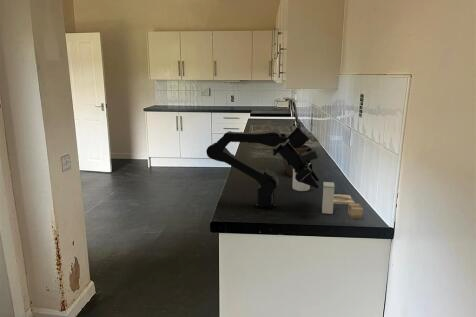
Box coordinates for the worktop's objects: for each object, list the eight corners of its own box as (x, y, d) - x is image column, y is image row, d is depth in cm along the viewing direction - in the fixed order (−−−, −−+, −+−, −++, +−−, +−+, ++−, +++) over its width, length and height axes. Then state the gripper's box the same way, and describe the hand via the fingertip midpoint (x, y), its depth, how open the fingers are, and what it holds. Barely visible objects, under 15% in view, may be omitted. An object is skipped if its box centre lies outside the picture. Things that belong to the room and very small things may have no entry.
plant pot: (285, 170, 204) (286, 142, 200) (311, 173, 198) (312, 144, 194) (276, 176, 191) (277, 147, 187) (303, 179, 185) (305, 149, 181)
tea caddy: (322, 213, 140) (323, 186, 137) (321, 208, 145) (323, 181, 143) (332, 213, 139) (334, 186, 136) (332, 208, 144) (334, 182, 142)
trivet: (354, 204, 149) (354, 202, 149) (330, 203, 150) (330, 201, 150) (349, 196, 159) (349, 194, 159) (326, 196, 160) (326, 194, 160)
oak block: (362, 219, 134) (363, 209, 133) (351, 219, 134) (352, 209, 134) (358, 213, 140) (359, 203, 139) (348, 213, 140) (348, 203, 139)
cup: (298, 184, 176) (299, 152, 172) (313, 187, 171) (314, 155, 167) (289, 188, 170) (289, 156, 166) (303, 192, 165) (304, 159, 161)
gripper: (305, 146, 129) (335, 177, 129) (307, 138, 147) (333, 165, 147) (283, 166, 132) (312, 196, 133) (287, 156, 150) (312, 182, 150)
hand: (318, 184), depth 140 cm, fingers open, 9 cm apart
